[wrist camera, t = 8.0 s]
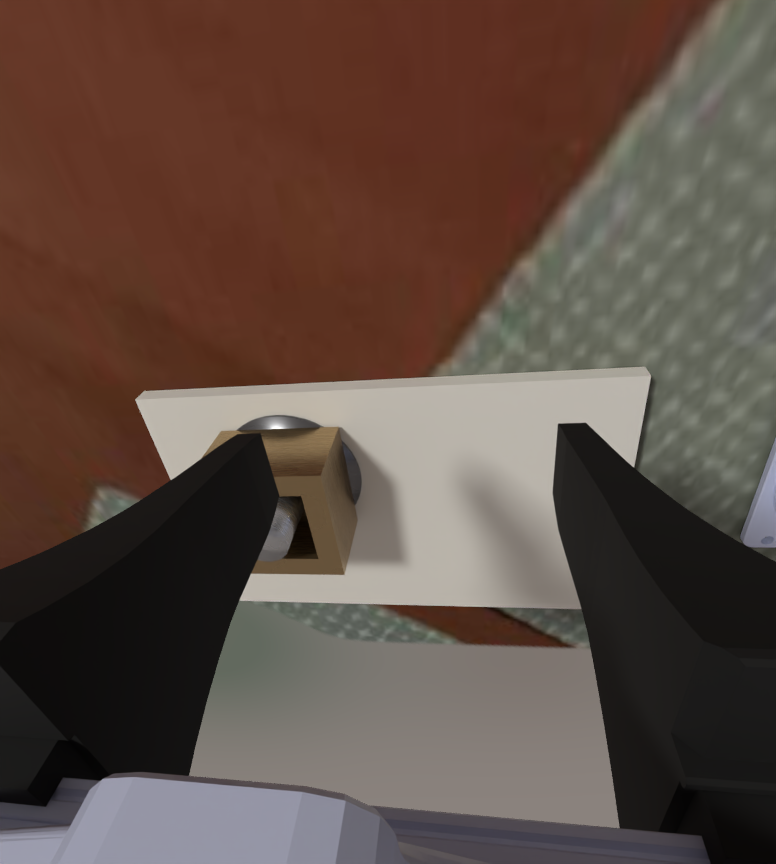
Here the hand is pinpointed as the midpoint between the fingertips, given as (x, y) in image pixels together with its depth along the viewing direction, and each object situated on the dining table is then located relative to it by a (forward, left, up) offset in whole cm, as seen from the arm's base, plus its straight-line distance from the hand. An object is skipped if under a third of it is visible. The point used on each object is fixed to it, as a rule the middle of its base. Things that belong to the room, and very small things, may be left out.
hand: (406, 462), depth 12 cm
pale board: (+3, +10, -9) cm, 14 cm away
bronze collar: (+7, +7, -8) cm, 13 cm away
